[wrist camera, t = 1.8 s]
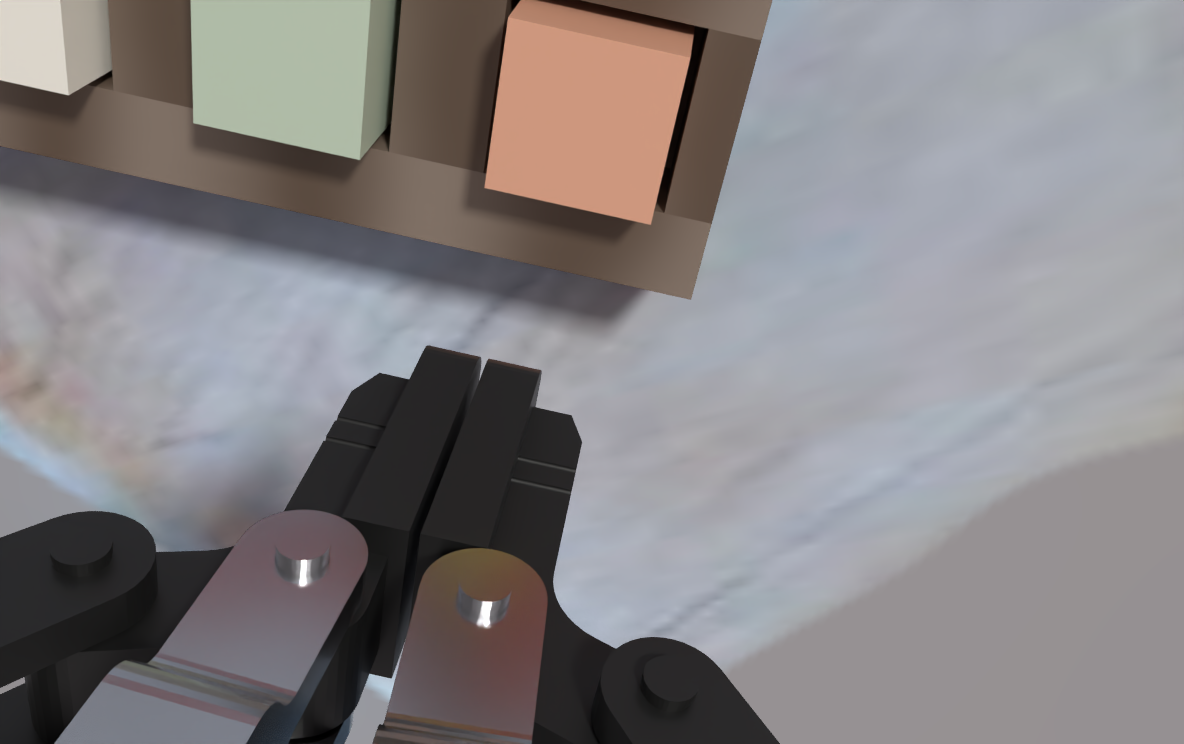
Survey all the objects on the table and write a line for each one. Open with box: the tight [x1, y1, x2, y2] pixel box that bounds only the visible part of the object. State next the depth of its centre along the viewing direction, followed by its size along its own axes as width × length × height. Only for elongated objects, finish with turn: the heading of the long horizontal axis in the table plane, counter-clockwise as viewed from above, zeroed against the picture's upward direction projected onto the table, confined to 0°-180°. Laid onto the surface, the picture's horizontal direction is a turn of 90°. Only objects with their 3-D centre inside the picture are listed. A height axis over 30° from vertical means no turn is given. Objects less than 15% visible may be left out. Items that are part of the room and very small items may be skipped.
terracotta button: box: [484, 0, 695, 225], centre depth 25 cm, size 4×4×3 cm
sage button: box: [191, 0, 402, 160], centre depth 25 cm, size 4×4×3 cm
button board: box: [0, 0, 772, 300], centre depth 27 cm, size 21×9×4 cm, turn 79°
